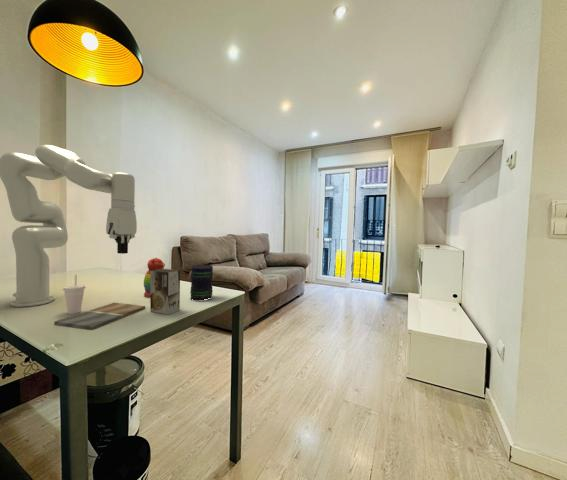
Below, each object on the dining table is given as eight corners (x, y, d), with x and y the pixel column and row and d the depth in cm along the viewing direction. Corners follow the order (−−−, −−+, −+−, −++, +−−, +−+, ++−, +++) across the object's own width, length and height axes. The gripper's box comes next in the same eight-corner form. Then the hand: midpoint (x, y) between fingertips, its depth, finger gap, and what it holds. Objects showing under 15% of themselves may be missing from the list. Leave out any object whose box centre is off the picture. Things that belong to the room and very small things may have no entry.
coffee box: (180, 310, 98) (181, 269, 98) (168, 315, 92) (168, 272, 92) (162, 306, 101) (163, 267, 101) (149, 311, 95) (149, 270, 95)
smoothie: (72, 315, 88) (72, 276, 88) (58, 314, 90) (58, 275, 89) (89, 310, 95) (89, 273, 94) (76, 308, 96) (76, 272, 95)
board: (54, 324, 80) (54, 321, 80) (113, 305, 102) (113, 302, 102) (92, 329, 77) (92, 326, 77) (145, 308, 98) (145, 306, 98)
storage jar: (216, 298, 116) (217, 266, 115) (197, 302, 108) (197, 268, 108) (205, 294, 122) (205, 264, 122) (186, 298, 115) (186, 266, 114)
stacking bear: (162, 298, 113) (163, 259, 113) (139, 298, 112) (139, 259, 111) (170, 292, 124) (170, 257, 124) (148, 292, 123) (149, 256, 122)
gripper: (130, 207, 103) (129, 251, 104) (96, 203, 89) (96, 254, 89) (145, 207, 102) (145, 252, 102) (114, 203, 87) (114, 255, 88)
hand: (122, 253), depth 96 cm, fingers closed
